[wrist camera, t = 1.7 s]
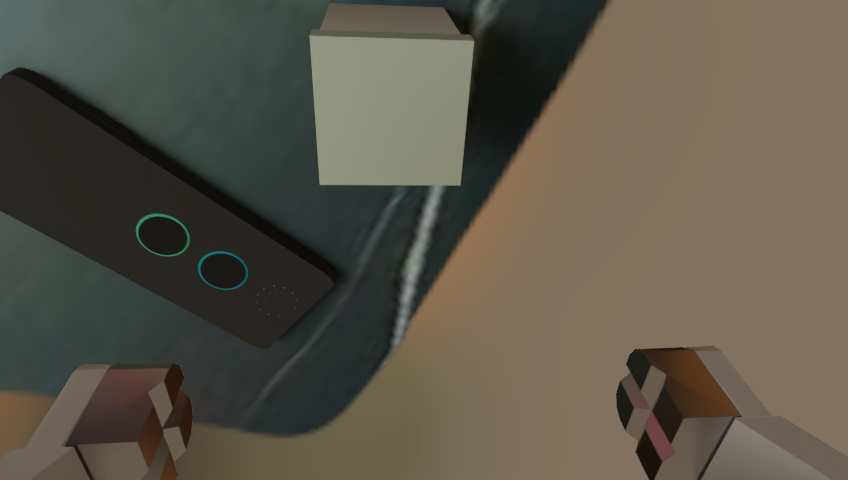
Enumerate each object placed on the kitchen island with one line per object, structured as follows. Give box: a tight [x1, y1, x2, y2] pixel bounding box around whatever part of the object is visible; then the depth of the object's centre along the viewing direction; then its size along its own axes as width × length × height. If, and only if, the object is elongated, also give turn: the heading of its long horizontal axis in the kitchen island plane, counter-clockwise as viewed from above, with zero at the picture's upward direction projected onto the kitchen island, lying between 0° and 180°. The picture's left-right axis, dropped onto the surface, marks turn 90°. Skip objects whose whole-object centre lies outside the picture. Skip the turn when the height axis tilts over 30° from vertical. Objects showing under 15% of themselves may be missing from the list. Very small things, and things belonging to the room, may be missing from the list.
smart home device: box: [0, 68, 335, 348], centre depth 31 cm, size 8×2×20 cm
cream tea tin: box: [310, 3, 474, 185], centre depth 24 cm, size 6×6×8 cm
